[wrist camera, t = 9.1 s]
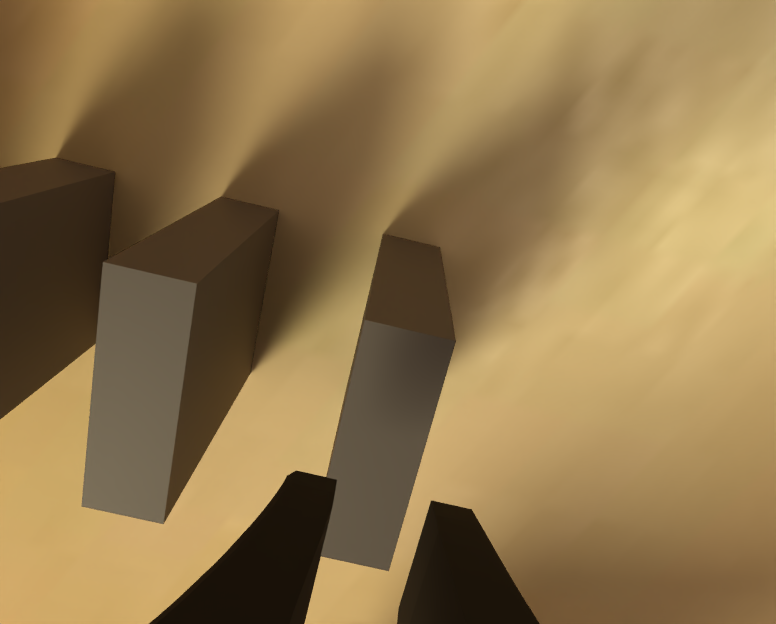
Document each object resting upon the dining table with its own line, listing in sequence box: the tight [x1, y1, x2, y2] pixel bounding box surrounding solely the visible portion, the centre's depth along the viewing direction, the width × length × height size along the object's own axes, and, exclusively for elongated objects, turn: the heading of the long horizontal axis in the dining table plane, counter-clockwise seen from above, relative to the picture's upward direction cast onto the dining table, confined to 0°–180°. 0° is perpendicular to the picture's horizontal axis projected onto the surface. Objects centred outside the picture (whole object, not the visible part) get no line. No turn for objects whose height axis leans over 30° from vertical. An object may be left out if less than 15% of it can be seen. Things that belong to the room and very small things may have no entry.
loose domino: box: [321, 234, 456, 571], centre depth 15 cm, size 2×5×7 cm, turn 167°
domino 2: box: [82, 197, 279, 524], centre depth 15 cm, size 2×5×7 cm, turn 167°
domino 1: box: [0, 158, 115, 419], centre depth 15 cm, size 2×5×7 cm, turn 167°
